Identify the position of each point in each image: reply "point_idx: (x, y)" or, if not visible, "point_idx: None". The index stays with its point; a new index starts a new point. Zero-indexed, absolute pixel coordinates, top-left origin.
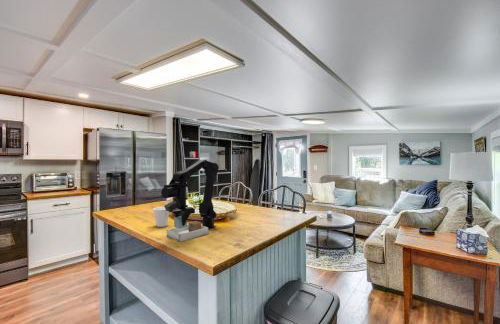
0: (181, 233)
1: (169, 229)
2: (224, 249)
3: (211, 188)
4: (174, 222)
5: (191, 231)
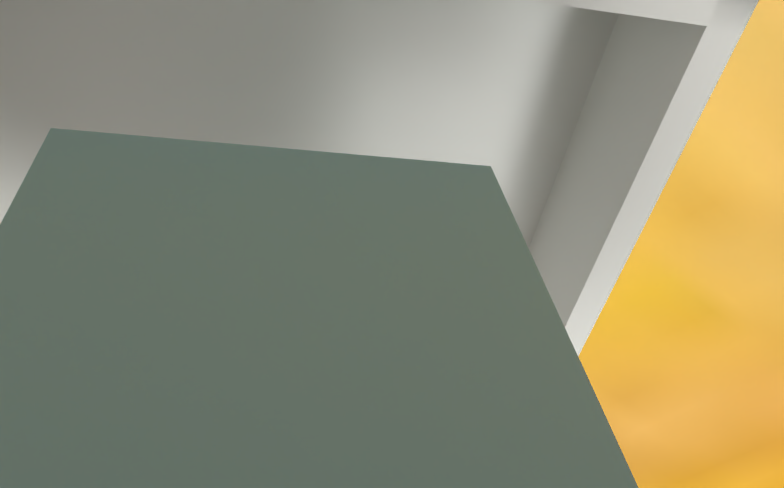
0: None
1: (687, 62)
2: None
3: None
4: (507, 296)
5: None
